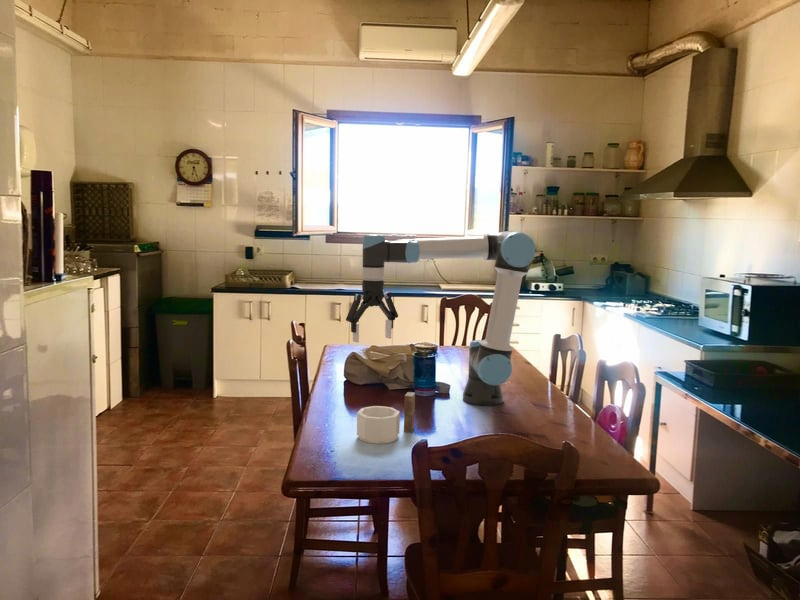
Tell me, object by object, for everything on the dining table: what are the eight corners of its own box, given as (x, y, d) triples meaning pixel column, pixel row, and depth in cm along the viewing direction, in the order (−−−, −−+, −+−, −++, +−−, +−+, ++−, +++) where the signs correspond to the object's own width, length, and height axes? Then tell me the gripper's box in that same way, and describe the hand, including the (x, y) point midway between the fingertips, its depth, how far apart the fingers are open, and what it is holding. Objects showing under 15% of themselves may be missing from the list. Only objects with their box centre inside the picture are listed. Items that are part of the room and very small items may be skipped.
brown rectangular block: (414, 428, 212) (415, 392, 211) (411, 432, 208) (412, 396, 206) (406, 427, 213) (407, 392, 211) (403, 432, 208) (404, 395, 207)
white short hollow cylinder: (401, 432, 208) (402, 408, 207) (393, 445, 196) (393, 420, 195) (364, 428, 211) (364, 404, 210) (353, 441, 199) (353, 416, 198)
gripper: (396, 276, 234) (395, 334, 237) (336, 279, 220) (335, 341, 223) (408, 278, 228) (407, 338, 231) (347, 282, 214) (347, 345, 217)
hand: (372, 339), depth 227 cm, fingers open, 13 cm apart
